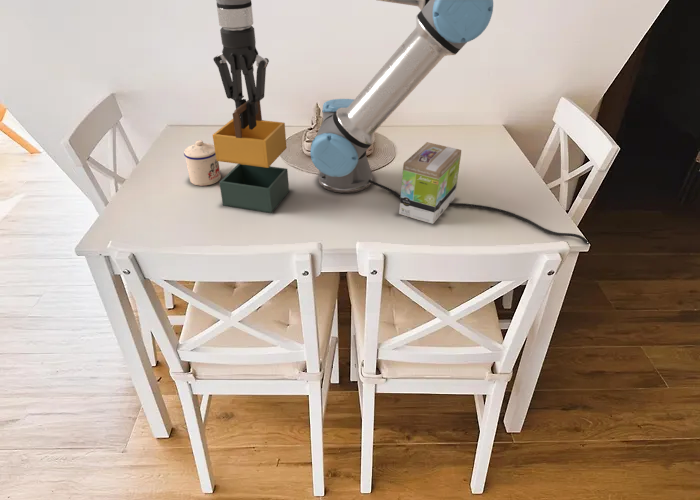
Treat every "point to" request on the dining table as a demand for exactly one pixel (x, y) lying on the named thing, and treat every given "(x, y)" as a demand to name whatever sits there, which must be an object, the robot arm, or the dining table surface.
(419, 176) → the tea box
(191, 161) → the teacup with lid
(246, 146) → the ochre basket
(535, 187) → the dining table surface
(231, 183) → the green basket
